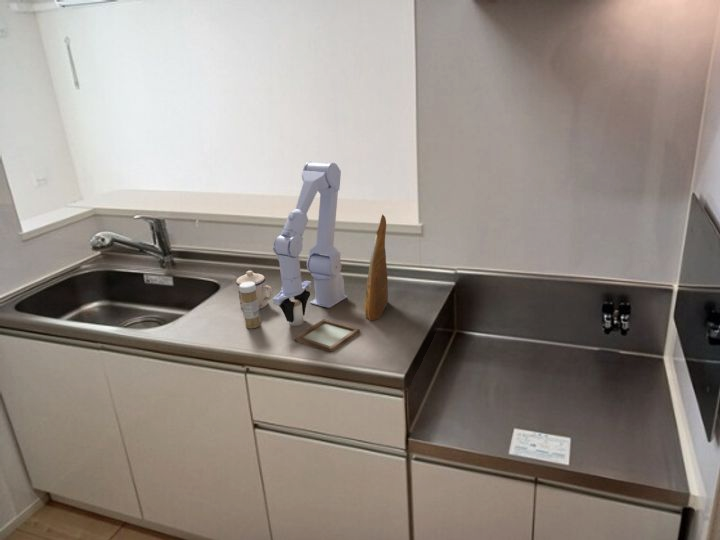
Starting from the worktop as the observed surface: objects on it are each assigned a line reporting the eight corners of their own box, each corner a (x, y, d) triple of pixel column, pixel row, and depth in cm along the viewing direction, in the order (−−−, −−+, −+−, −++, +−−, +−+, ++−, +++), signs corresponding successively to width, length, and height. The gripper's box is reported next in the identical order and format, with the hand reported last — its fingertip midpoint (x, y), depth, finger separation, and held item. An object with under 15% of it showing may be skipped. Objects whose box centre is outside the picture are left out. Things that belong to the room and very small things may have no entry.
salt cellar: (295, 317, 172) (293, 297, 170) (306, 320, 169) (304, 300, 167) (285, 323, 169) (283, 303, 166) (296, 326, 166) (294, 306, 164)
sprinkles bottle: (256, 320, 172) (250, 279, 167) (263, 325, 168) (258, 283, 163) (242, 325, 169) (236, 284, 164) (250, 330, 166) (243, 288, 161)
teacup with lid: (234, 309, 180) (229, 275, 176) (249, 297, 188) (244, 265, 184) (267, 313, 176) (262, 278, 172) (281, 301, 184) (277, 268, 179)
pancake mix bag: (396, 297, 181) (392, 212, 171) (383, 324, 164) (378, 232, 154) (375, 296, 183) (371, 212, 173) (360, 323, 166) (354, 231, 156)
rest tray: (324, 322, 168) (323, 318, 167) (360, 332, 161) (359, 328, 160) (294, 341, 158) (294, 337, 158) (331, 352, 151) (331, 348, 150)
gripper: (297, 265, 171) (301, 305, 176) (263, 281, 160) (268, 324, 165) (315, 269, 167) (319, 310, 172) (281, 286, 156) (286, 330, 161)
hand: (295, 317), depth 169 cm, fingers closed on salt cellar, 4 cm apart
